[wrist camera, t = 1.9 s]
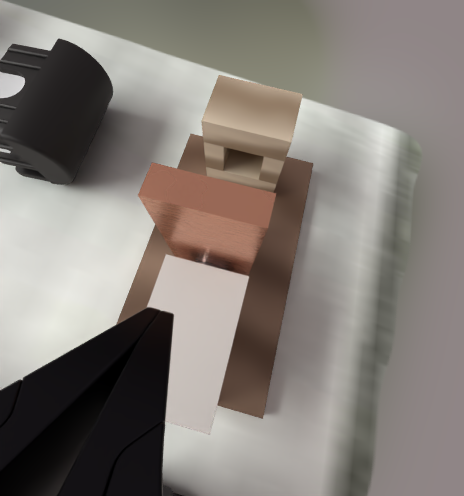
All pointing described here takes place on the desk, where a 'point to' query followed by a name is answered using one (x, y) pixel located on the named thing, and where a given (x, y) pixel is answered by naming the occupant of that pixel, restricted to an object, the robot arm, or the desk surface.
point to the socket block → (248, 132)
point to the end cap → (52, 110)
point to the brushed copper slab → (207, 217)
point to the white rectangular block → (198, 335)
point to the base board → (258, 287)
